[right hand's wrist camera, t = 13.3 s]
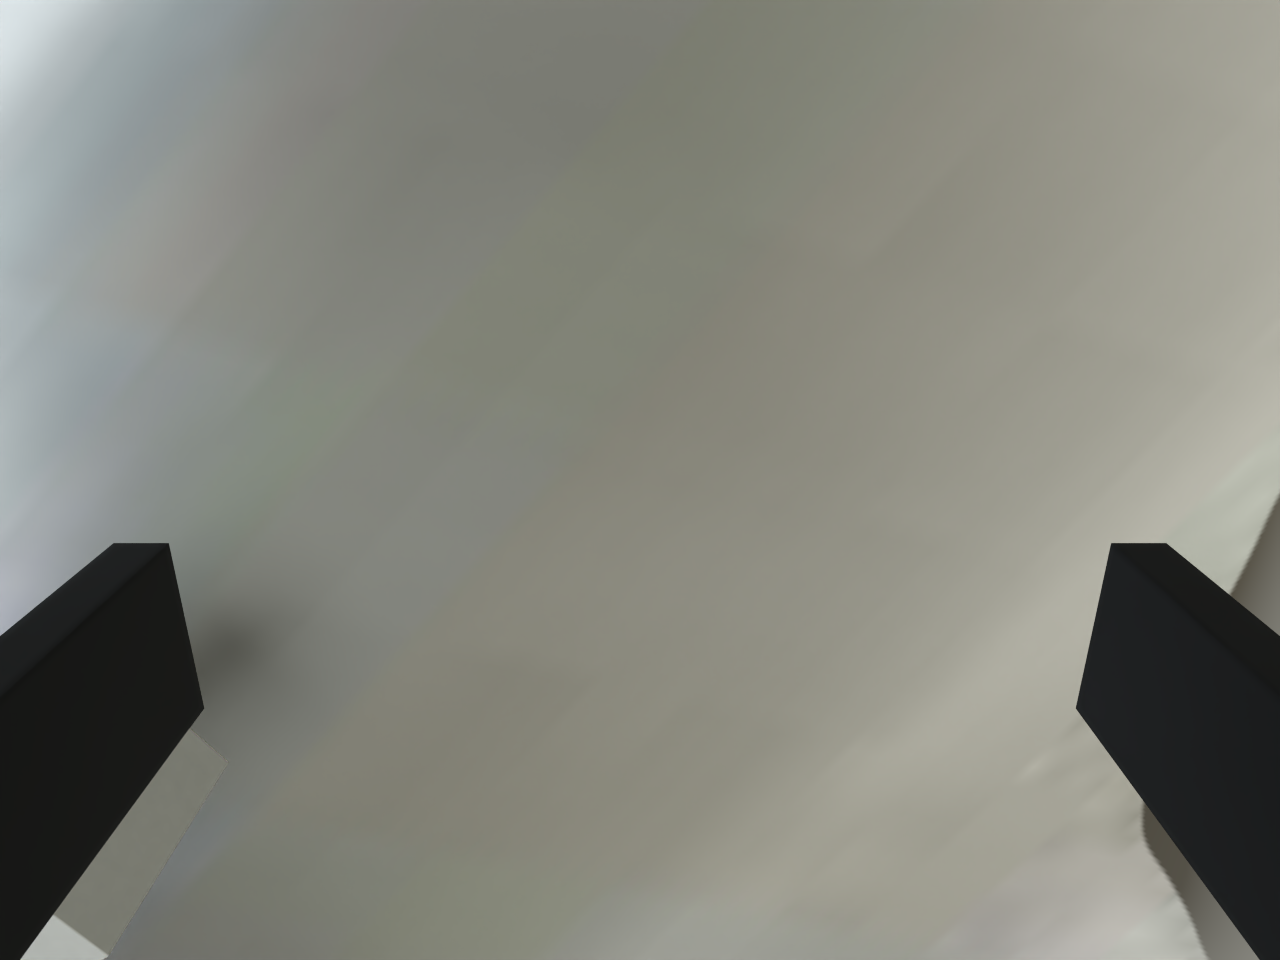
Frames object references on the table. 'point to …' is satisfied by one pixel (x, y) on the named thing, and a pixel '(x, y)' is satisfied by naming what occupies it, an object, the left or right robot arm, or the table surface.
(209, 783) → the bar
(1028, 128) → the table surface
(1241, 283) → the table surface
